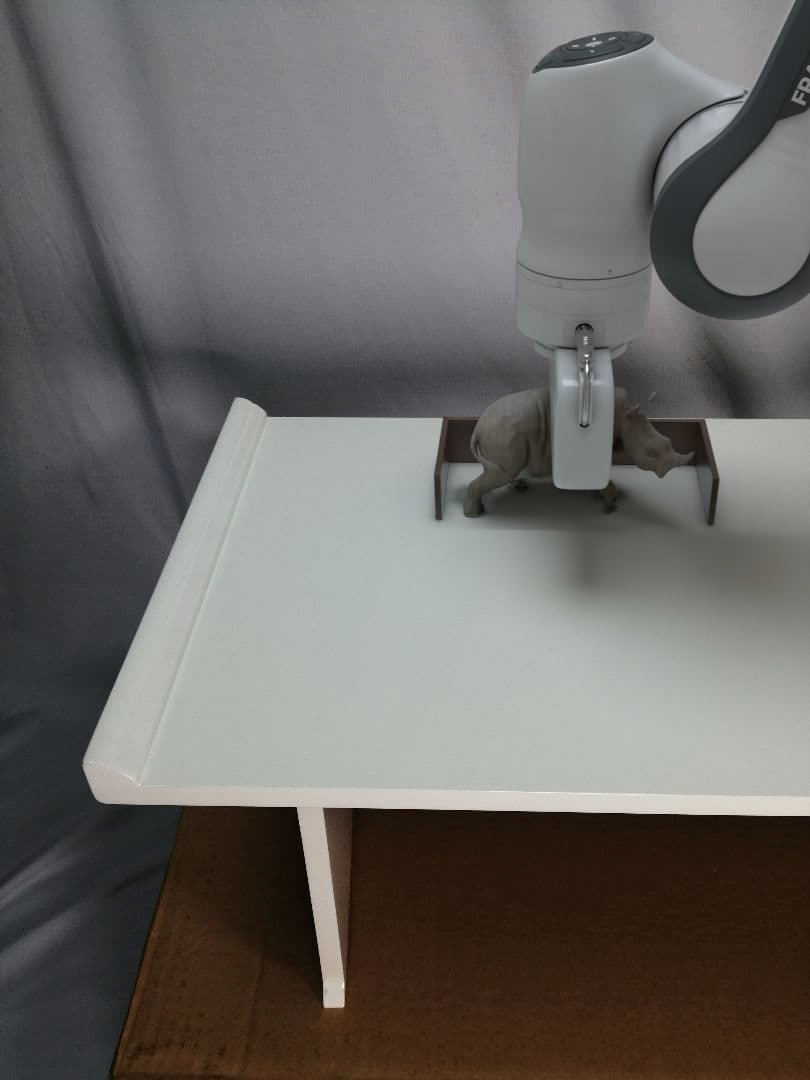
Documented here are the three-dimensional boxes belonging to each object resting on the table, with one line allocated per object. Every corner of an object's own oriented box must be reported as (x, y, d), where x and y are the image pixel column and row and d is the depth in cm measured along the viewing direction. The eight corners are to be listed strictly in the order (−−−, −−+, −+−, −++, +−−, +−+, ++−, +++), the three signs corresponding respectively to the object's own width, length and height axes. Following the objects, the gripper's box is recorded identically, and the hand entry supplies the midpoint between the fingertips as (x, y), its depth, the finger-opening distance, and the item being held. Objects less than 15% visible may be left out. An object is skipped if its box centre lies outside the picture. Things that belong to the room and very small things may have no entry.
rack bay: (700, 462, 96) (705, 418, 94) (714, 524, 88) (719, 478, 86) (444, 458, 98) (443, 416, 96) (435, 519, 90) (433, 474, 88)
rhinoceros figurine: (433, 441, 95) (545, 305, 87) (567, 522, 99) (687, 398, 91) (425, 498, 89) (545, 357, 81) (569, 581, 93) (698, 455, 85)
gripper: (642, 365, 69) (627, 560, 76) (620, 246, 86) (609, 415, 93) (534, 364, 69) (529, 558, 77) (533, 247, 86) (529, 415, 94)
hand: (573, 479), depth 85 cm, fingers closed
